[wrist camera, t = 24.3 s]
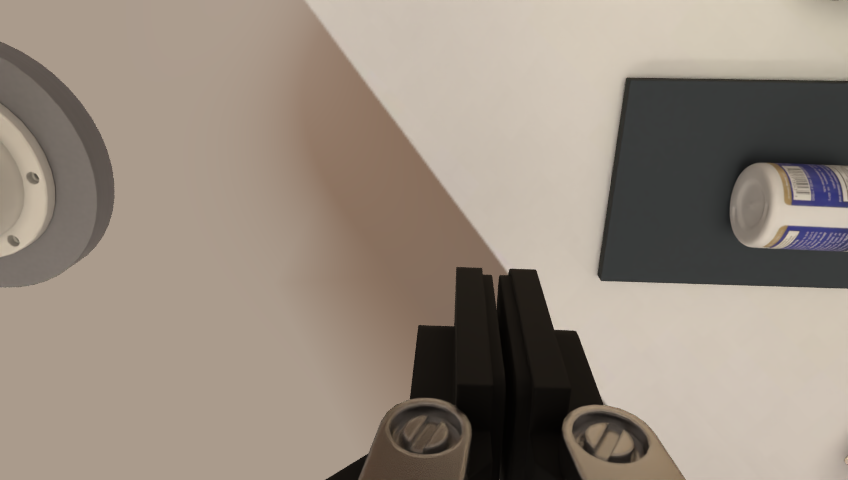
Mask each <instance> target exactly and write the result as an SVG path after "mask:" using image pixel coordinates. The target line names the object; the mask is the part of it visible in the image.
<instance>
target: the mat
mask: <svg viewBox="0 0 848 480" xmlns="http://www.w3.org/2000/svg"><path fill="white" fill-rule="evenodd" d="M755 163H791V164H816V165H843V166H848V81H800V80H734V79H669V78H627V79H626V84H625V91H624V98H623V105H622V112H621V119H620V125H619V132H618V139H617V146H616V153H615V160H614V166H613V173H612V180H611V187H610V194H609V201H608V207H607V214H606V221H605V228H604V235H603V242H602V248H601V255H600V262H599V269H598V276H599V278H600V280H601V281H622V282H655V283H687V284H719V285H751V286H783V287H815V288H847V289H848V251H847V252H841V251H816V250H795V249H772V248H754V247H748V246H745V245H743V244H742V243H741V242H740V241H739V240H738V239H737V238H736V236H735V234H734V232H733V229H732V226H731V221H730V200H731V195H732V191H733V188H734V185H735V182H736V180H737V179H738V177H739V175H740V174H741V173H742V171H743V170H744V169H745V168H747V167H748V166H750V165H752V164H755Z"/></svg>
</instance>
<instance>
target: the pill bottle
mask: <svg viewBox="0 0 848 480" xmlns="http://www.w3.org/2000/svg"><path fill="white" fill-rule="evenodd" d="M730 221H731V226H732V229H733V232H734V234H735V236H736V238H737V239H738V240H739V241H740V242H741V243H742V244H743V245H745V246H748V247H754V248H772V249H795V250H816V251H841V252H847V251H848V166H843V165H816V164H791V163H755V164H752V165H750V166H748V167H747V168H745V169H744V170H743V171H742V173H741V174H740V175H739V177H738V179H737V180H736V182H735V185H734V188H733V191H732V195H731V200H730Z"/></svg>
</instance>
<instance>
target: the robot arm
mask: <svg viewBox="0 0 848 480" xmlns="http://www.w3.org/2000/svg"><path fill="white" fill-rule="evenodd" d="M54 206H55V185H54V180H53V175H52V171H51V168H50V166H49V163H48V161H47V158H46V156H45V153H44V152H43V150H42V148H41V147H40V145H39V143H38V142H37V140H36V138H35V137H34V136H33V135H32V133H31V132H30V131H29V130H28V128H27V127H26V126H25V125H24V124H23V122H22V121H21V120H20V119H18V118H17V117H16V116H15V115H14V114H13V113H12V112H11V111H10V110H9V109H8V108H6V107H5V106H3V105H2V104H0V257H3V256H7V255H11V254H14V253H16V252H18V251H20V250H21V249H23V248H25V247H27V246H29V245H30V244H31V243H33V242H34V241H36V240H37V239H38V238H39V237H40V236H41V235H42V234H43V232H44V231H45V230H46V229H47V227H48V225H49V223H50V220H51V218H52V216H53V211H54ZM455 295H456V296H455V323H454V326H426V325H419V326H418V333H417V342H416V351H415V360H414V368H413V378H412V386H411V395H410V400H407V401H405V402H403V403H400V404H397V405H395V406H394V407H393V408H392V409H390V410H389V411H388V412H387V413H386V415H385V416H384V418H383V419H382V421H381V423H380V426H379V428H378V431H377V433H376V436H375V438H374V441H373V443H372V446H371V448H370V451H369V453H368V454H367V455H365V456H364V457H362V458H360V459H359V460H357V461H356V462H354V463H352V464H350V465H349V466H347V467H346V468H344V469H342V470H341V471H339V472H337V473H336V474H334V475H333V476H331V477H329V478H328V479H326V480H686V479H685V478H684V476H683V475H682V473H681V472H680V470H679V469H678V467H677V466H676V464H675V463H674V461H673V460H672V458H671V457H670V455H669V454H668V452H667V451H666V449H665V448H664V446H663V445H662V443H661V442H660V440H659V439H658V437H657V436H656V434H655V433H654V432H653V431H652V429H651V428H650V427H649V426H648V425H647V424H646V423H645V422H644V421H642V420H641V419H639V418H638V417H636V416H635V415H633V414H631V413H629V412H626V411H624V410H622V409H619V408H615V407H611V406H607V405H603V402H602V399H601V397H600V394H599V391H598V388H597V386H596V383H595V380H594V377H593V375H592V372H591V369H590V367H589V364H588V361H587V358H586V356H585V353H584V350H583V347H582V345H581V342H580V339H579V336H578V334H577V332H576V331H568V330H554V328H553V325H552V321H551V318H550V315H549V311H548V308H547V305H546V301H545V298H544V294H543V291H542V288H541V284H540V281H539V278H538V274H537V271H536V270H531V269H509V274H508V275H500V276H499V284H498V297H497V310H496V303H495V296H494V288H493V280H492V275H483V274H482V268H466V267H457V269H456V294H455Z"/></svg>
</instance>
